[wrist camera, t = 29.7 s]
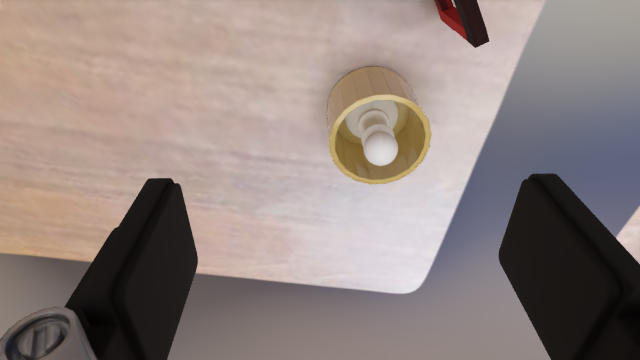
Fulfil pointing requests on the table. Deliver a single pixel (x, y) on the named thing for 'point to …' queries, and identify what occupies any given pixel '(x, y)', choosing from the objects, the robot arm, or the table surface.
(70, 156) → the table surface
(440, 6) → the mug
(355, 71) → the yellow cup
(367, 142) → the chess pawn
